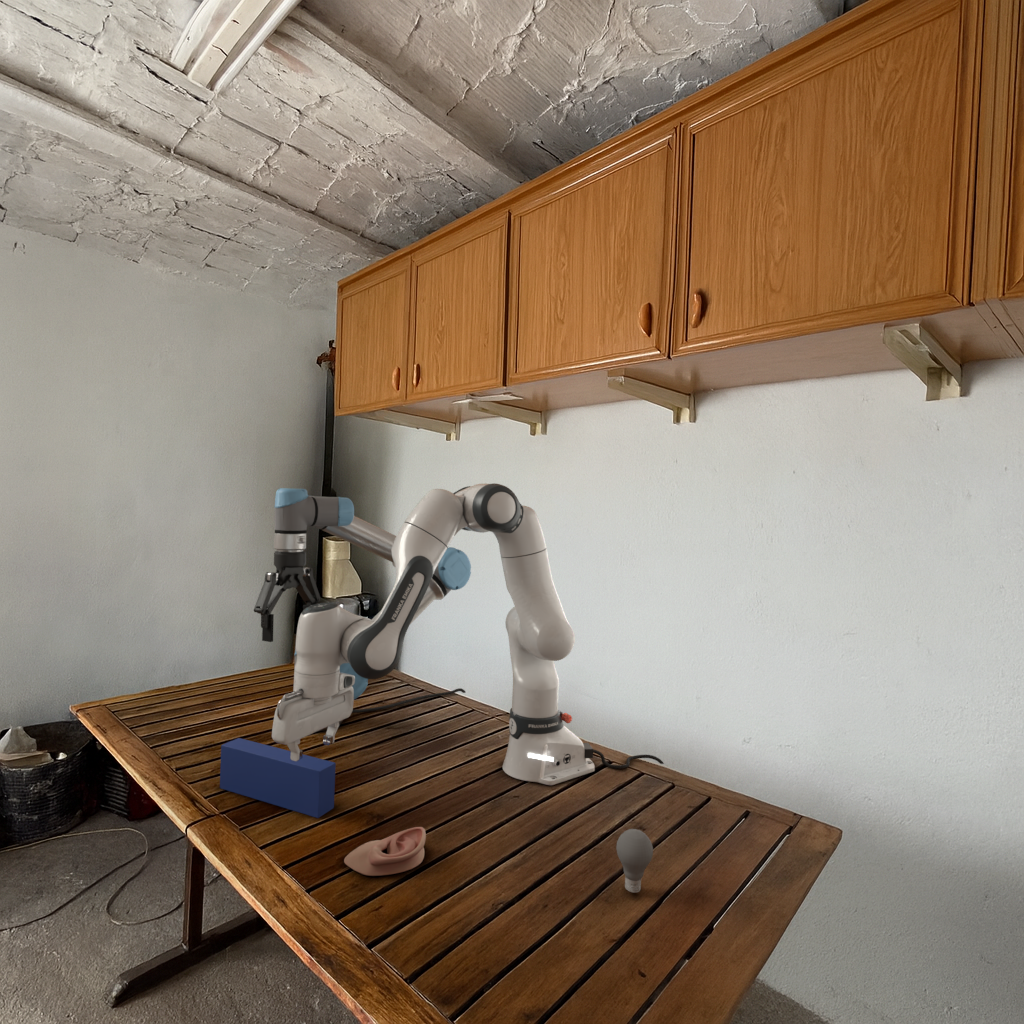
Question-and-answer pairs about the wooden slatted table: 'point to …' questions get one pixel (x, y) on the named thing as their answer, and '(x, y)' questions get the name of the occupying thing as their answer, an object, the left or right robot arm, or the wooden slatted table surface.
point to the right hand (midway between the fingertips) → (313, 751)
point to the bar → (278, 777)
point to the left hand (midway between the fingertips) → (288, 635)
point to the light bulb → (634, 857)
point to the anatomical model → (389, 853)
